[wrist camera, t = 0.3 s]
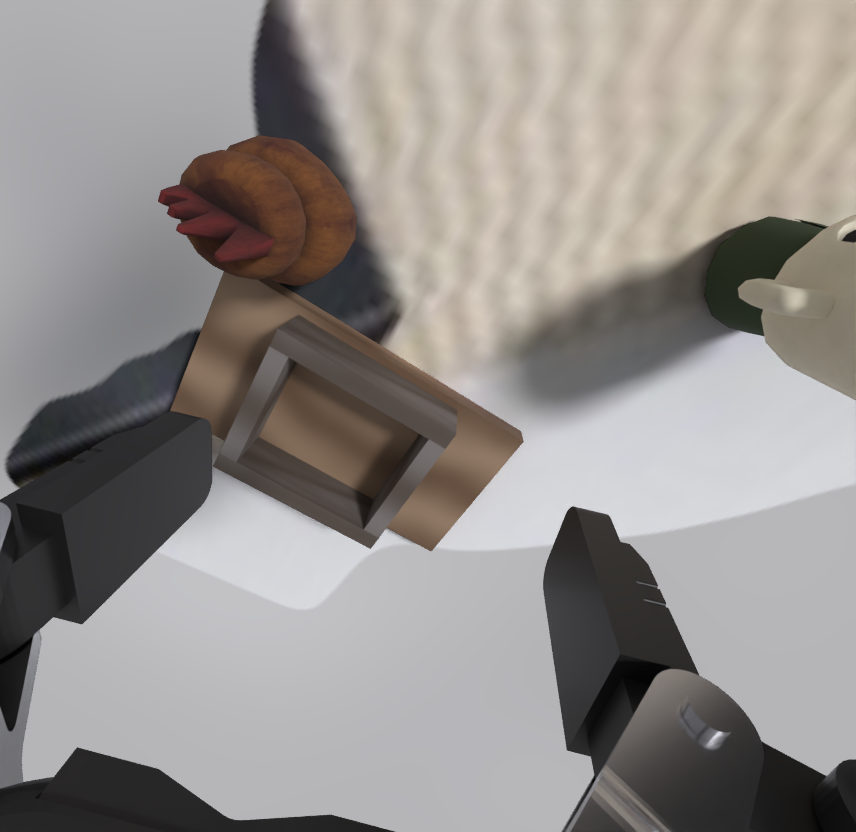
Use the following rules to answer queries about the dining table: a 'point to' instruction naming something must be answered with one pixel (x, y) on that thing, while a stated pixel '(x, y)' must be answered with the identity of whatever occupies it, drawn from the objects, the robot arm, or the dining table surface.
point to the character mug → (792, 293)
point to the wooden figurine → (264, 211)
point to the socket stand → (336, 418)
